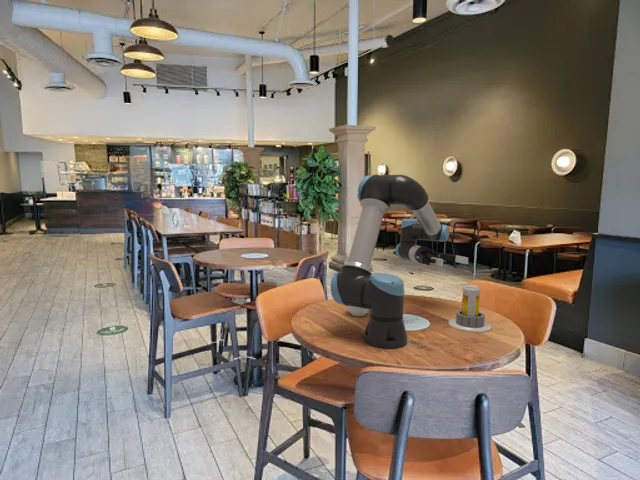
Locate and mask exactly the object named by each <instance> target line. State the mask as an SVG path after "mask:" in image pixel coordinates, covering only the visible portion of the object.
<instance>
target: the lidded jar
mask: <svg viewBox="0 0 640 480" xmlns="http://www.w3.org/2000/svg"><path fill="white" fill-rule="evenodd" d="M346 308H347V311H348V312H349V313H350V314H352V316H353V315H354V317H364V316H366V314H367V313H369V312H370V310H369V309H364V308H359V307H353V306H346Z"/></svg>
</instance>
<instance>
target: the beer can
mask: <svg viewBox="0 0 640 480" xmlns="http://www.w3.org/2000/svg"><path fill="white" fill-rule="evenodd" d="M480 291H481V289H480V287H479V286H478V285H475V284H464V286H463V288H462V307H461V308H462V309H461V310H462V315H464V316H469V317H478V313H479V312H480Z"/></svg>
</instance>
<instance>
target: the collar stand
mask: <svg viewBox="0 0 640 480" xmlns="http://www.w3.org/2000/svg"><path fill="white" fill-rule="evenodd" d="M485 318H486V315H485V314H484V313H483V312H480V311H479V313H478V317H469V316H464V315H462V309H461V310H456V312H455V317H454V318H450V319H449V320H448V325H449V326H450V327H451V328H452V329H455V330H456V331H457V330H458V331H461V332H466V333H487V332H490V331H491V330H492V326H493V325H492V324H491V323H490V322H489V321H488V322H487V321H486V319H485Z"/></svg>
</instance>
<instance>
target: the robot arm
mask: <svg viewBox="0 0 640 480" xmlns="http://www.w3.org/2000/svg"><path fill="white" fill-rule="evenodd" d="M358 184H359V185H358V186H357V187H358V188H357V199H358V201H359V204H360V206H361V208H362V209H361V213H360V216H359V220H358V222H357V223H358V224H357V228H356V230H355V233H354V238H353V242H352V245H351V249H350V252H349V256H348V259H347V263H345V264H343V265H342V266H341V267H340V268H341V269H340V271H337V272H335V273H334V274H333V275H332V277H331V280H330V293H331V297H332V299H333V300H334V302H335V303H337V304H339V305H343V306H345V307H347V306H353V307H359V308H364V309H369V319H368V320H367V321H368V322H367V324H366V327H365V330H364V333H363V340H364V341H363V342H365V343H366V344H367V345H370V346H371V347H375V348H376V347H377V348H381V349H396V348H397V349H398V348H402V347H404V346H406V345H407V344H408V333H407V329H406V326H405V323H404V303H405V302H404V301H405V299H404V298H405V283H404V281H403V279H402V278H400V277H399V276H397V275H394V274H390V273H385V272H383V273H382V272H373V273H372V272H371V269H370V268H371V266H372V265H371V264H372V261H373V257H374V253H375V249H376V246H377V245H376V244H377V241H378V238H379V234H380V230H381V226H382V223H383V218H384V215H385V214H387V213H388V212H389V210H390V207H391V206H393V205H395V206H405V208H407V209H408V210H410V211H411V212H412V214H413V215H414V217H415V218H403V219H401V222H400V225H401V226H400V239H399V241H400V242H399V243H398V244H397V245H396V247H395V250H394V252H395V254H396V256H397V257H398V258H400V259H402V260H406V261H410V262H415V263H416V264H418V263H419V264H423V265H427V266H430V265H434V266H435V265H436V266H440V267H443V266H444V261H447V262H449V261H450V262H455V263H459V264H464V265H468V264H469V257H466V256H461V255H460V254H459V253H456V254H451V253H442V252H436V251H435V252H434V251H433V250H432V249H431V248H429V247H428V246H427V247H426V246H421V245H417V242H418V240H420V241H431V242H447V241H448V240H449V237H450V228H449V226H448V225H447V224H441V223H440V221H439V219H438V217H437V215H436V213H435V211H434V209H433V208H432V206H431V204H430V202H429V195H428V193H427V190H426V188H424V187H423V185H422V184H421V183H419V181H417V180H415V179H414V178H412V177H410V176H408V175H405V174H404V175H403V174H371V175H370V174H369V175H366V176H364V177H363V178H362V179H361V180H360V182H359V183H358Z"/></svg>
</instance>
